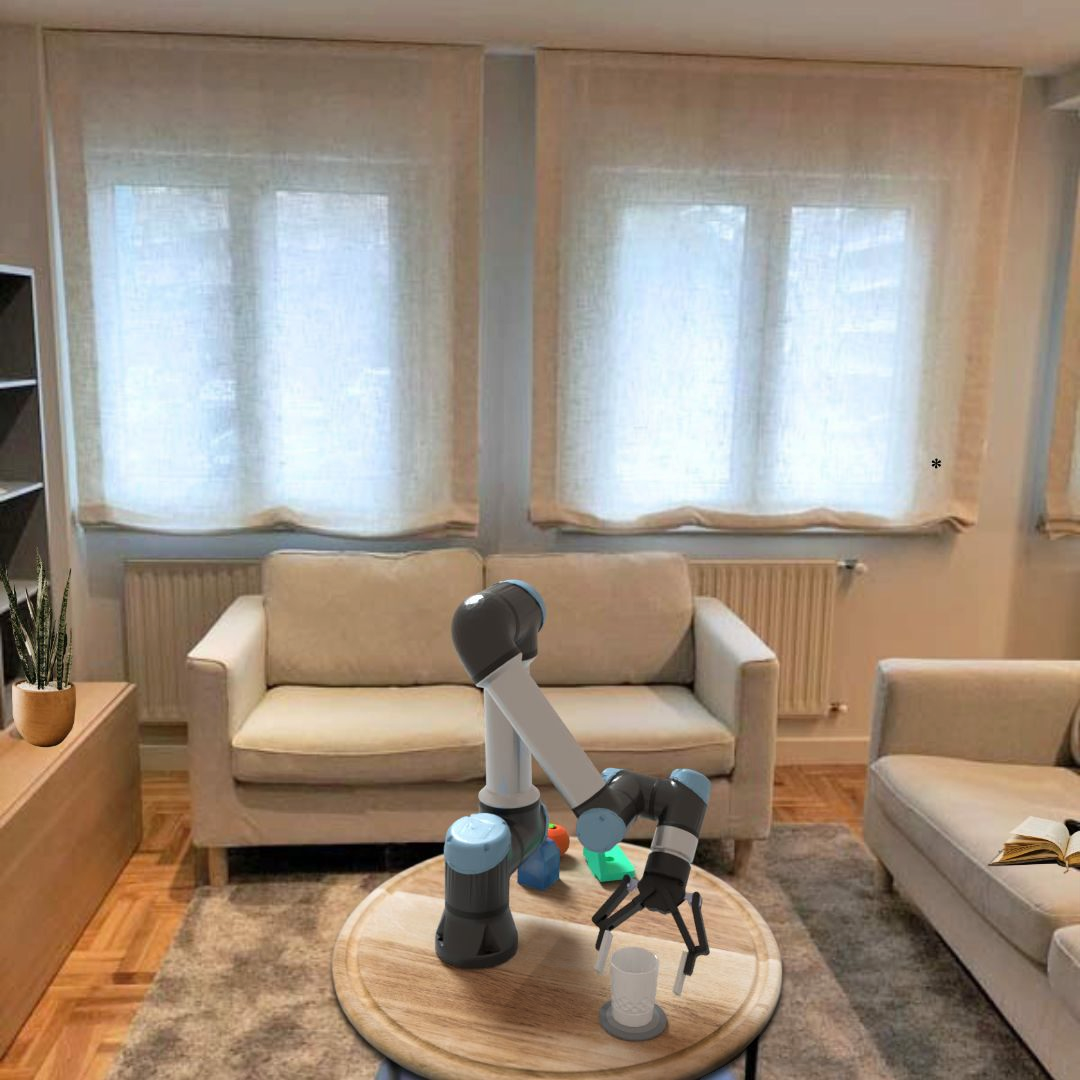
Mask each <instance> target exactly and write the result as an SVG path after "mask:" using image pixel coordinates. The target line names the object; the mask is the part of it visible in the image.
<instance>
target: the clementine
mask: <svg viewBox="0 0 1080 1080" xmlns="http://www.w3.org/2000/svg"><path fill="white" fill-rule="evenodd" d="M547 838H548V839H551V840H553V841H554V843H555V844H556V846H557V847H558V849H559V850H560V857H562V856H564V855H565V854H566V852H567V851H568V850H569V848H570V836H569V833H568V832H567V830H566V829H565V828H564V827H562V826H561V825H560V824H554V823H550V822H549V829H548V837H547Z"/></svg>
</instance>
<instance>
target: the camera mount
mask: <svg viewBox="0 0 1080 1080" xmlns="http://www.w3.org/2000/svg"><path fill="white" fill-rule="evenodd" d="M582 855H583V857H584V858H585V860H586V862H587V867H588V869H589V871H590V872H591V874H592V875H593V877H594V878H597V879H598V880H599V882H600V883H602V882H610V881H620V880H621V881H622V879H623V876H624V875H626V874H627V875H629V876H630V877H631V878H633V879H635V877H636V875H635V874H636V868H635V867H634V865H633V864H632V862H631V861H630V859H629V858H628V856H627V855H626V854H625V853H624V851H623V850H622V848H621V847H620V846H619V845H618V844H616V846H615V847H614V848H613V849H611V850H610V851H608V852H604V853H595V852H592V851H590V850H588V849H586V848H585V847H584V846H583V847H582Z"/></svg>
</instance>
